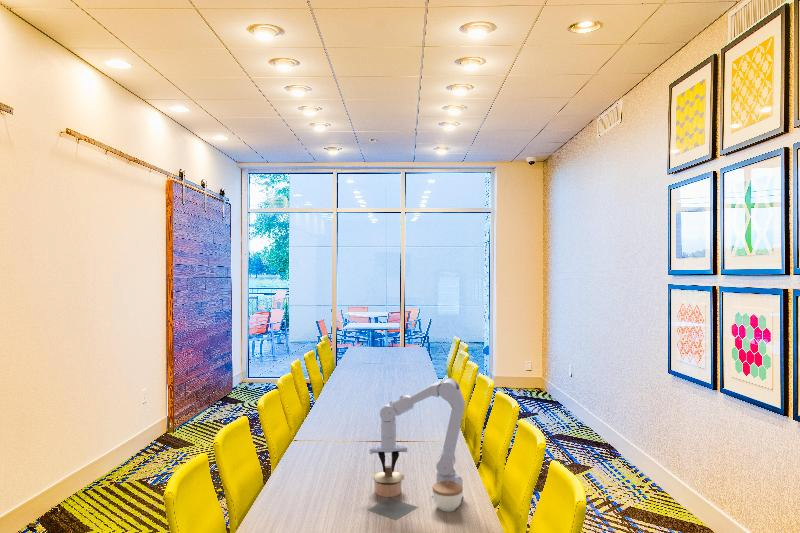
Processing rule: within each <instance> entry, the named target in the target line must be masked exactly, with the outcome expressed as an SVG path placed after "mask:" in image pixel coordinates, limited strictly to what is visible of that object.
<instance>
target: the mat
mask: <svg viewBox="0 0 800 533" xmlns="http://www.w3.org/2000/svg"><path fill="white" fill-rule="evenodd" d="M418 508H419V507H418V506H416V505H413V504H410V503H406V502H403V501H400V500H398V499H395V498H393V497H392V498H391V497H388V498H387V499H385V500H383V501H381V502H379V503H378V504H376V505H373V506H372V507H369V508H367V511H369V512H372V513H375V514H378V515H381V516H383V517H386V518H389V519H392V520H394V521H397V520H399V519H400V518H402V517H404V516H405V515H407V514H409V513H411V512H413V511H414V510H416V509H418Z"/></svg>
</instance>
